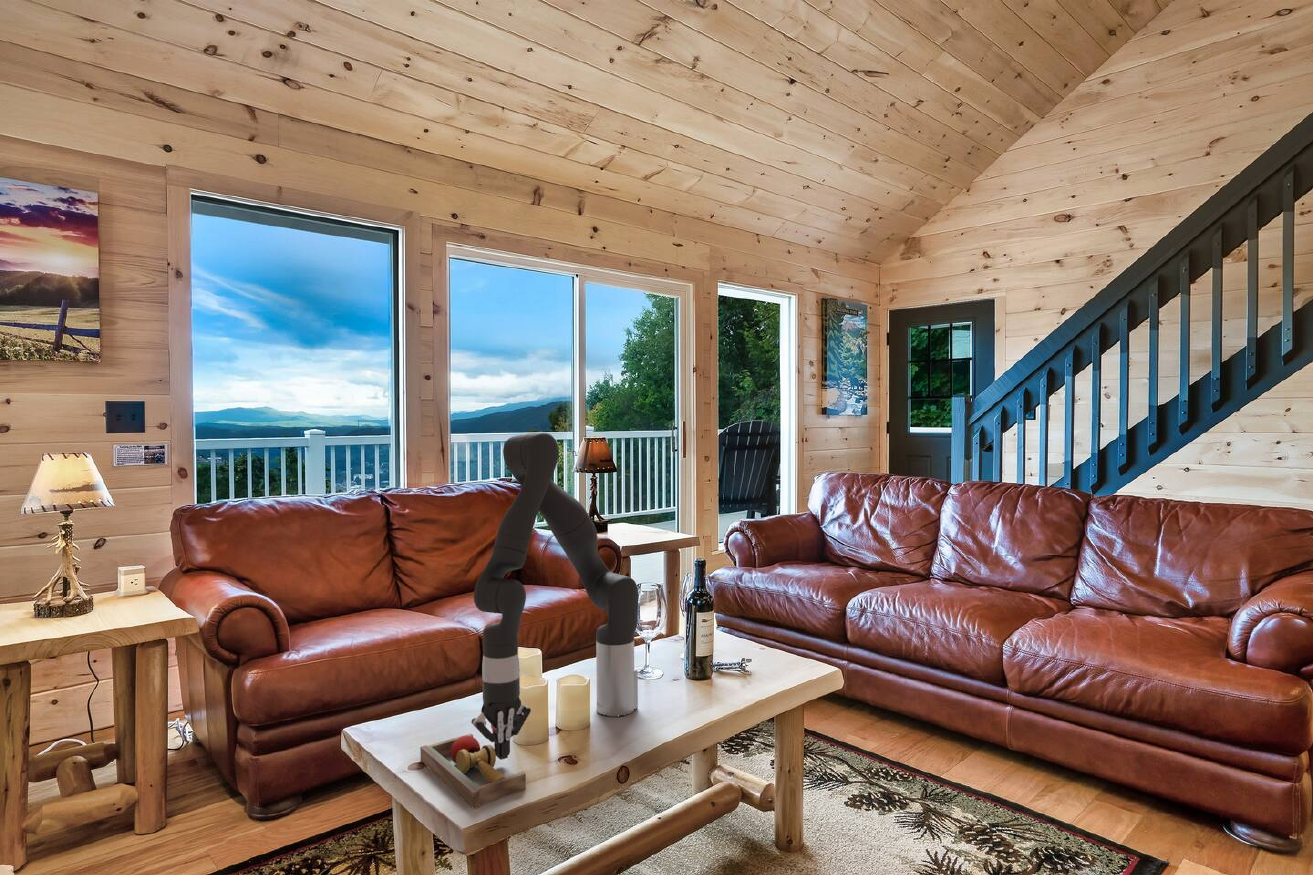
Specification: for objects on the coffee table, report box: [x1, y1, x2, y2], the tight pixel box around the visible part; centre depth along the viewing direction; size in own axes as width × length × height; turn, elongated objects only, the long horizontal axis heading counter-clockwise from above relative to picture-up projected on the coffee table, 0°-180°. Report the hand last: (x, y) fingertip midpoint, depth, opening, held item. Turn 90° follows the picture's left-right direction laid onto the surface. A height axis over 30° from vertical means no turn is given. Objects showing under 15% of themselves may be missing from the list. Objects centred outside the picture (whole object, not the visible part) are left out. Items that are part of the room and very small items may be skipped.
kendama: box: [450, 735, 506, 783], centre depth 158 cm, size 8×6×18 cm
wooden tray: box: [419, 733, 527, 809], centre depth 158 cm, size 11×25×3 cm, turn 39°
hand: (502, 757), depth 162 cm, fingers closed
